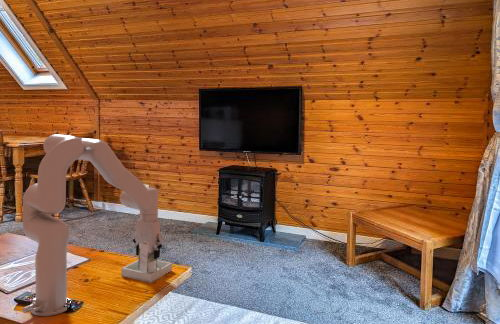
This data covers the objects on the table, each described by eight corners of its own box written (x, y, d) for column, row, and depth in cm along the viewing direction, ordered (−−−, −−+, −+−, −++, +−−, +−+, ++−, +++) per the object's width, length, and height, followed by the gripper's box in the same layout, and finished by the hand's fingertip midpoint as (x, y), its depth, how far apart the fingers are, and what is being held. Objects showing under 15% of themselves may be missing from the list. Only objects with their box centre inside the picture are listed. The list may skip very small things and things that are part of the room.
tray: (151, 283, 157) (151, 274, 157) (121, 276, 163) (121, 268, 162) (171, 270, 171) (172, 263, 171) (144, 264, 177) (144, 257, 176)
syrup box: (148, 268, 171) (149, 236, 169) (157, 271, 167) (158, 239, 166) (137, 271, 166) (138, 238, 164) (147, 275, 163) (147, 241, 161)
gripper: (126, 215, 164) (125, 255, 166) (160, 221, 158) (159, 262, 159) (137, 212, 171) (136, 250, 173) (171, 217, 165) (169, 257, 166)
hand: (147, 256), depth 166 cm, fingers open, 8 cm apart
